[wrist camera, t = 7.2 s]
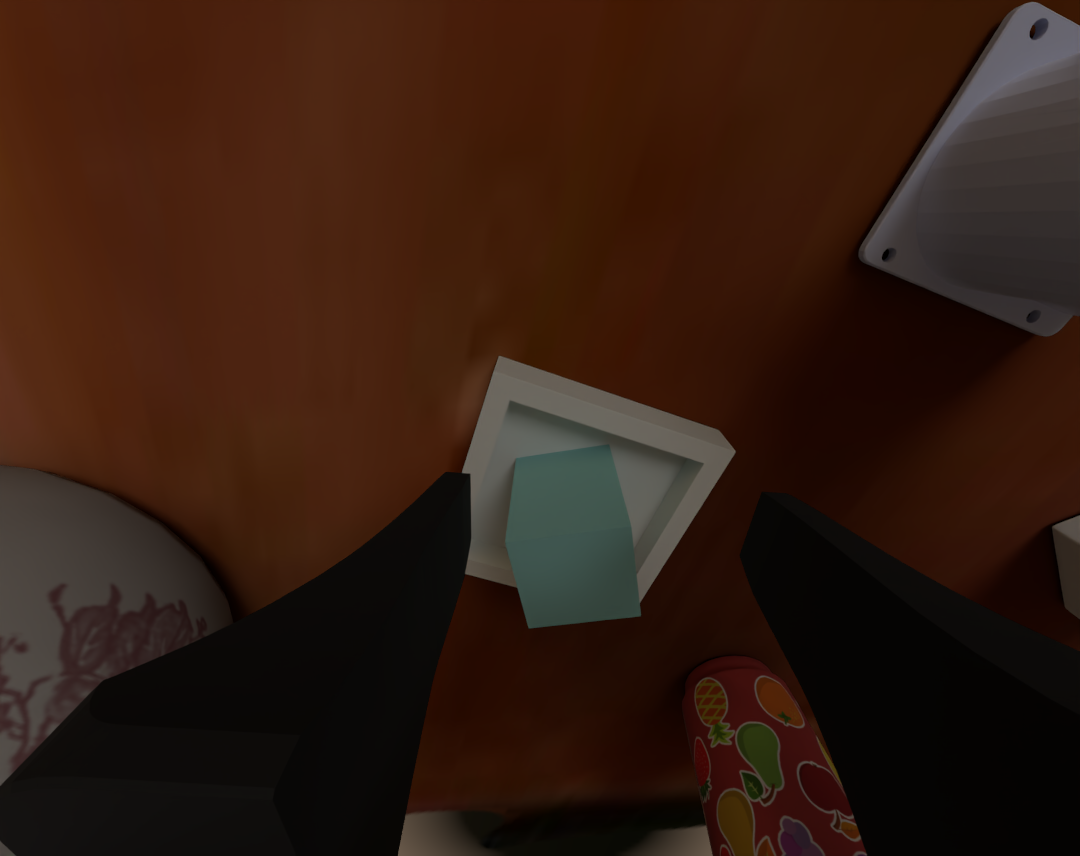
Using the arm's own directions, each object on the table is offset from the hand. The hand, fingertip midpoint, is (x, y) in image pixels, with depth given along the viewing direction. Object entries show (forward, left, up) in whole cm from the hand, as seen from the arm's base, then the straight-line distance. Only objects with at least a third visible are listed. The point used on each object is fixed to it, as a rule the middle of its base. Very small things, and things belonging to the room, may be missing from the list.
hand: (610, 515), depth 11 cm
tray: (-2, +6, -10) cm, 11 cm away
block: (-1, +5, -9) cm, 11 cm away
